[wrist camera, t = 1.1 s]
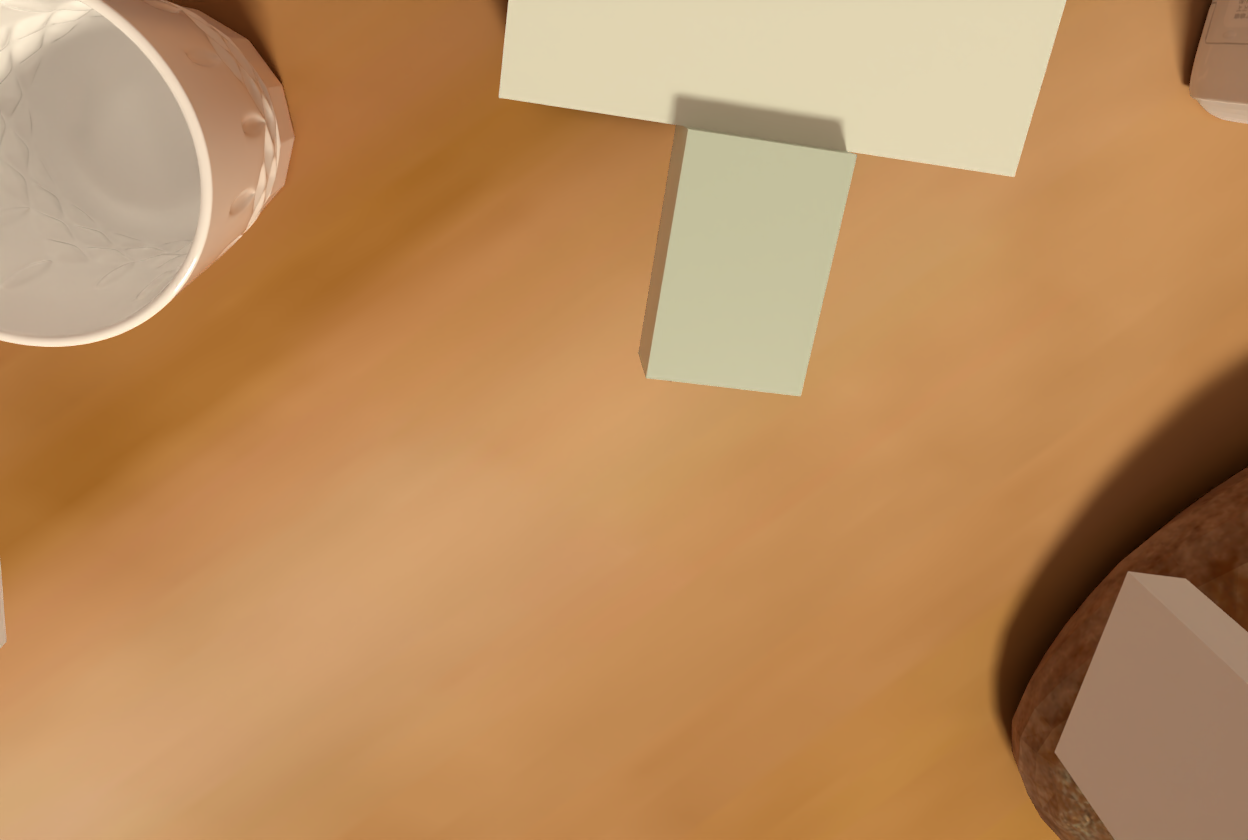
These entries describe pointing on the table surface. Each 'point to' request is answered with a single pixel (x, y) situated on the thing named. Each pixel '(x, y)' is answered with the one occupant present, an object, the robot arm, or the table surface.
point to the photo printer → (1223, 62)
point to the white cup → (125, 160)
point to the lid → (777, 140)
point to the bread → (1184, 548)
